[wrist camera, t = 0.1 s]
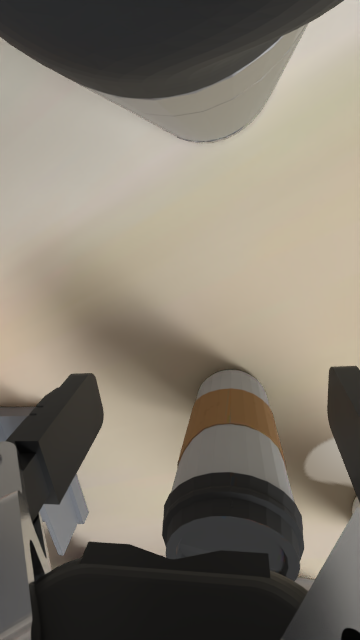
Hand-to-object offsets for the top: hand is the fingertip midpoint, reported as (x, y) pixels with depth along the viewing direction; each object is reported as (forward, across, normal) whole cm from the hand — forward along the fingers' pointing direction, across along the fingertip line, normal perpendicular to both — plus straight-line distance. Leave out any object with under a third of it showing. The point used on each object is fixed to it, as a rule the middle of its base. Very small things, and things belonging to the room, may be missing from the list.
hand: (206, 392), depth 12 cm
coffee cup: (+18, 0, +12) cm, 22 cm away
